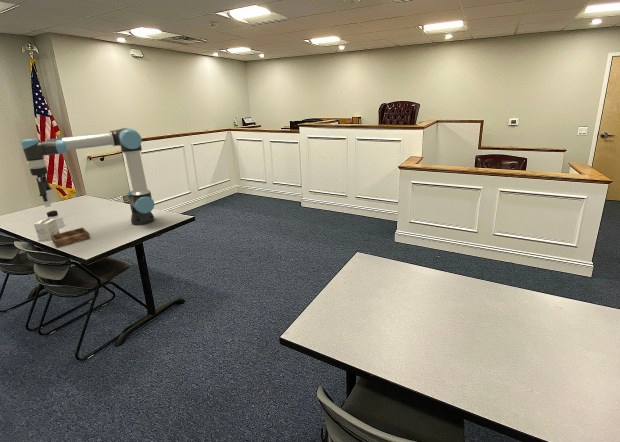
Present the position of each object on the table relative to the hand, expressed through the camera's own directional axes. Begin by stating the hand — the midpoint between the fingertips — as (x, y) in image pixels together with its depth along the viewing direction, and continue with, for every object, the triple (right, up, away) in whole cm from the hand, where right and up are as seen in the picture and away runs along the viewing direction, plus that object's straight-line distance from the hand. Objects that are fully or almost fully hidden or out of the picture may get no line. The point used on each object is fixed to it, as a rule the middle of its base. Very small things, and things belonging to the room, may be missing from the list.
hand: (49, 203), depth 201 cm
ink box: (-18, -21, +25) cm, 37 cm away
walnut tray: (-1, -22, +20) cm, 29 cm away
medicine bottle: (-28, -15, +44) cm, 54 cm away
